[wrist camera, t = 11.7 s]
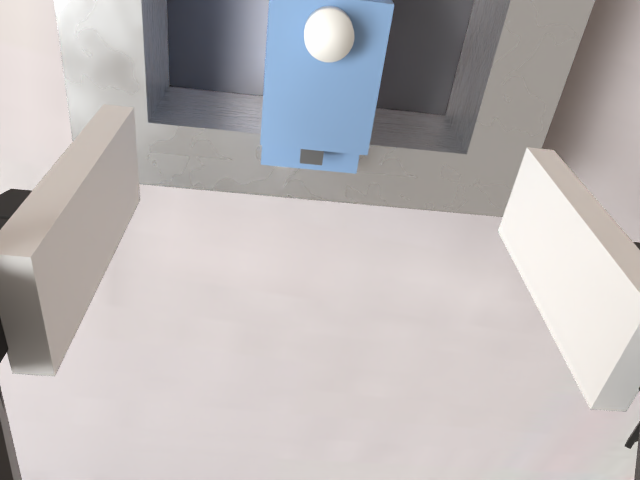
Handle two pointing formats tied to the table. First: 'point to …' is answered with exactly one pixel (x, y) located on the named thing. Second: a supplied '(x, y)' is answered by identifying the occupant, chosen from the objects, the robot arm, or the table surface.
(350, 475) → the table surface
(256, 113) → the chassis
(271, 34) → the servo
